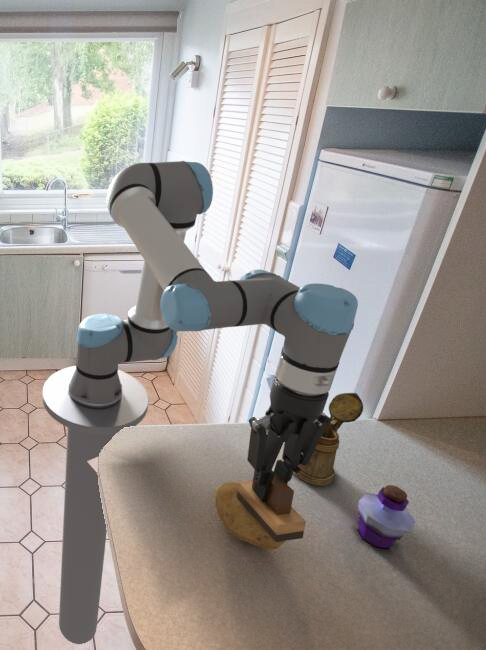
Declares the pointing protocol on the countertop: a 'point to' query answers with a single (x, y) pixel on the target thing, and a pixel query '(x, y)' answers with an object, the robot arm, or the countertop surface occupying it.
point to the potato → (241, 518)
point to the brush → (273, 509)
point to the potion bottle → (384, 517)
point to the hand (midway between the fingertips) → (267, 494)
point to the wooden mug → (330, 440)
